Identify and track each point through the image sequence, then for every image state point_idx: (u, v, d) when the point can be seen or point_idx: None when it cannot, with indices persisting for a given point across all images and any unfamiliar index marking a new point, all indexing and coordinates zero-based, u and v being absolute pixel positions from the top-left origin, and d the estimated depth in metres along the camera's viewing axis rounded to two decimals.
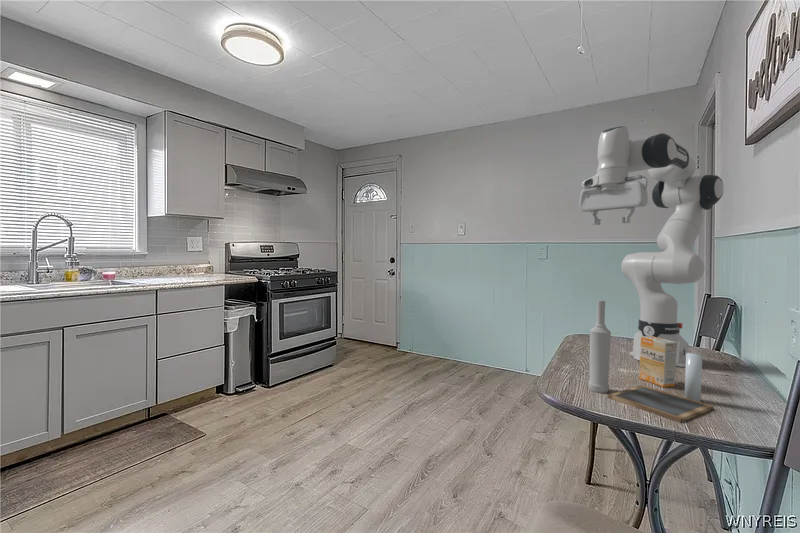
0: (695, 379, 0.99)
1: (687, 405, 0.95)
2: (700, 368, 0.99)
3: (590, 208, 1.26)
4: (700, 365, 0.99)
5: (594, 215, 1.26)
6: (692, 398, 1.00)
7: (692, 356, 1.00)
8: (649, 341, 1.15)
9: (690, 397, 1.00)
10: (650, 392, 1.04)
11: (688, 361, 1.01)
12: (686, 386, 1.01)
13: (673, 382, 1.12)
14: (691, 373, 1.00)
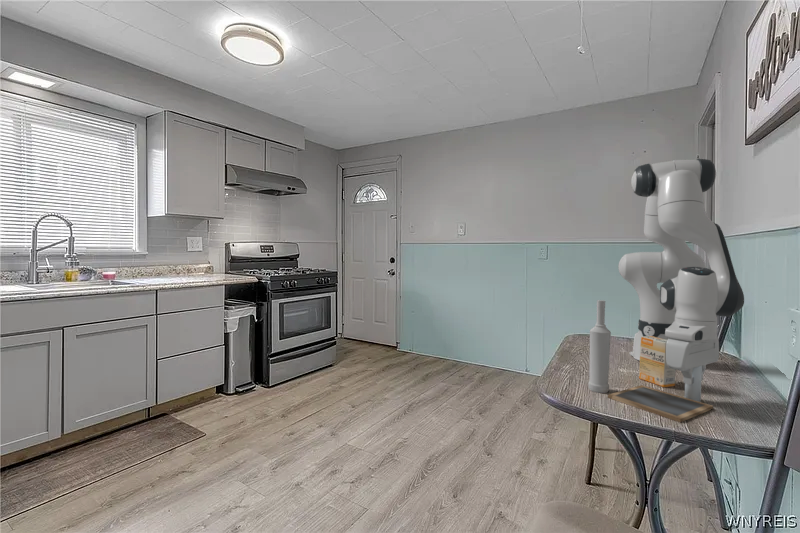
0: (695, 379, 0.99)
1: (687, 405, 0.95)
2: (700, 368, 0.99)
3: (690, 367, 0.96)
4: None
5: None
6: (692, 398, 1.00)
7: None
8: (649, 341, 1.15)
9: (690, 397, 1.00)
10: (650, 392, 1.04)
11: None
12: (686, 386, 1.01)
13: (673, 382, 1.12)
14: None
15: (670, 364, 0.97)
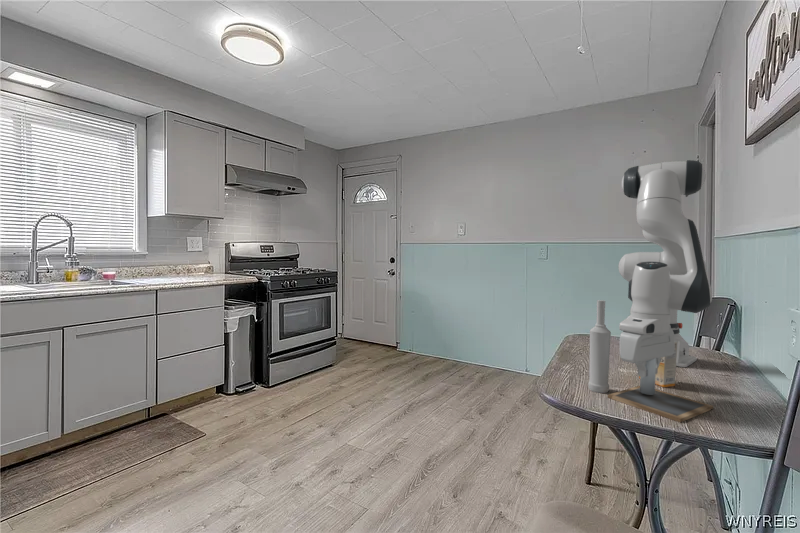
0: (649, 372, 1.01)
1: (687, 405, 0.95)
2: (654, 361, 1.01)
3: (643, 359, 0.98)
4: None
5: None
6: (646, 391, 1.01)
7: None
8: None
9: (644, 390, 1.02)
10: None
11: None
12: (641, 379, 1.03)
13: (673, 382, 1.12)
14: (645, 366, 1.01)
15: (623, 357, 0.98)
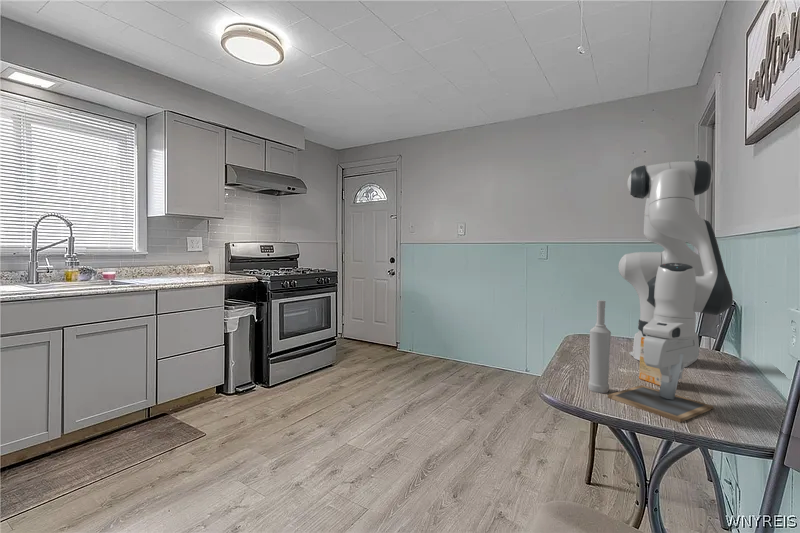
0: (672, 377, 0.98)
1: (687, 405, 0.95)
2: (679, 366, 0.98)
3: (668, 364, 0.95)
4: (680, 363, 0.98)
5: None
6: (666, 395, 0.99)
7: None
8: None
9: (664, 394, 0.99)
10: (650, 392, 1.04)
11: None
12: (662, 382, 1.00)
13: None
14: None
15: (647, 362, 0.95)
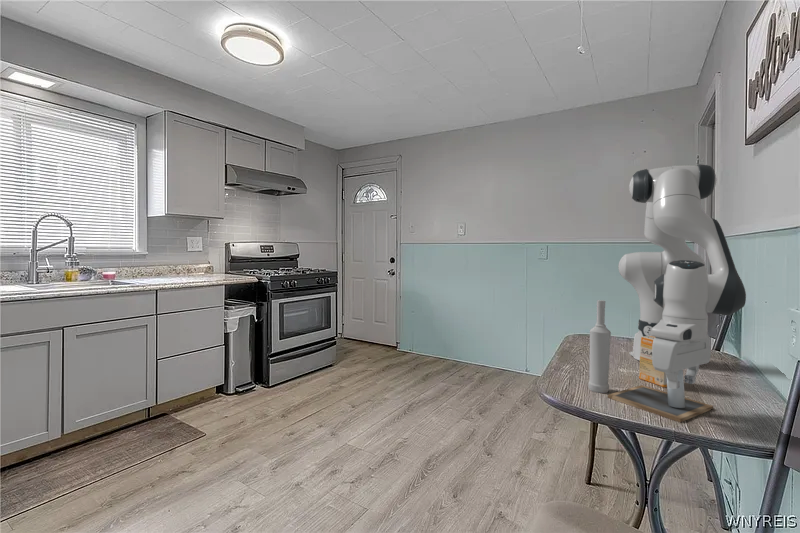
0: None
1: (687, 405, 0.95)
2: (681, 370, 0.94)
3: (678, 369, 0.89)
4: None
5: None
6: (676, 403, 0.93)
7: None
8: (649, 341, 1.15)
9: (674, 402, 0.93)
10: (650, 392, 1.04)
11: None
12: (669, 391, 0.94)
13: None
14: None
15: (656, 366, 0.89)
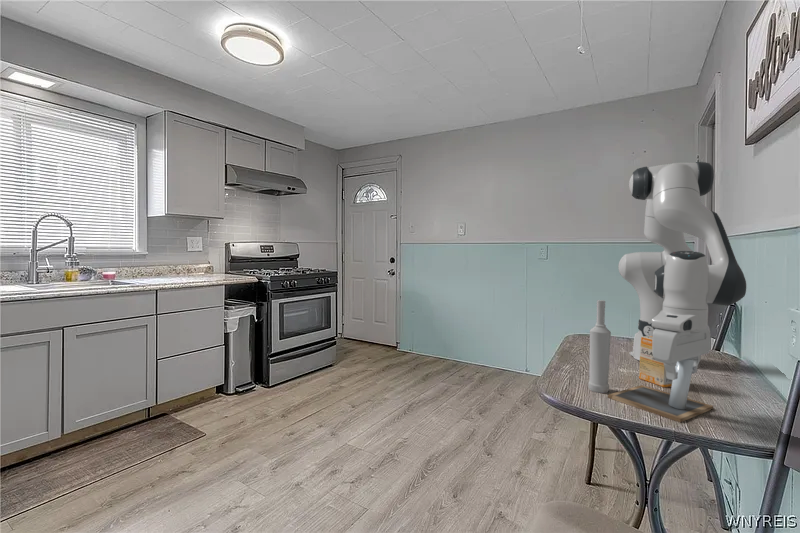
0: (683, 385, 0.92)
1: (687, 405, 0.95)
2: (690, 374, 0.92)
3: (678, 359, 0.89)
4: (690, 370, 0.92)
5: None
6: (677, 405, 0.93)
7: (683, 360, 0.92)
8: (649, 341, 1.15)
9: (675, 403, 0.93)
10: (650, 392, 1.04)
11: (678, 365, 0.93)
12: (672, 391, 0.94)
13: None
14: (679, 378, 0.92)
15: (657, 356, 0.89)
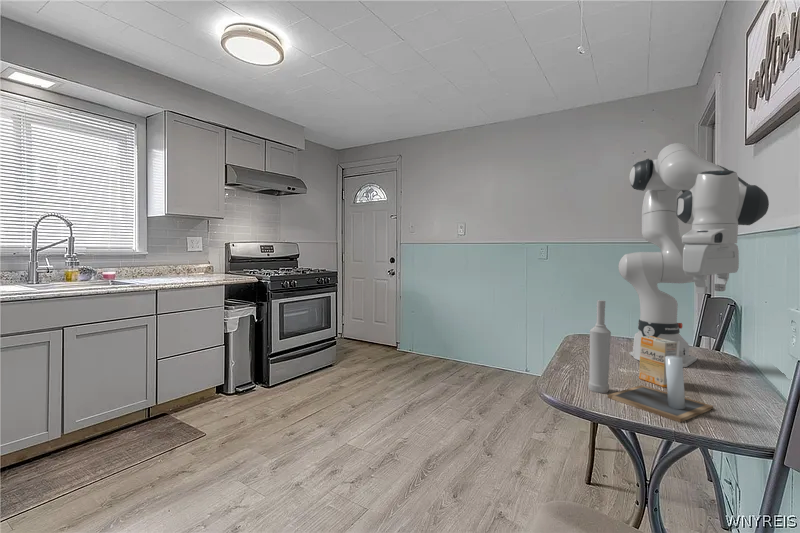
0: (678, 385, 0.92)
1: (687, 405, 0.95)
2: (681, 372, 0.92)
3: (709, 272, 0.91)
4: (681, 368, 0.92)
5: None
6: (676, 405, 0.93)
7: (672, 360, 0.93)
8: (649, 341, 1.15)
9: (674, 404, 0.93)
10: (650, 392, 1.04)
11: (668, 365, 0.94)
12: (669, 392, 0.94)
13: None
14: (672, 378, 0.93)
15: (687, 270, 0.91)
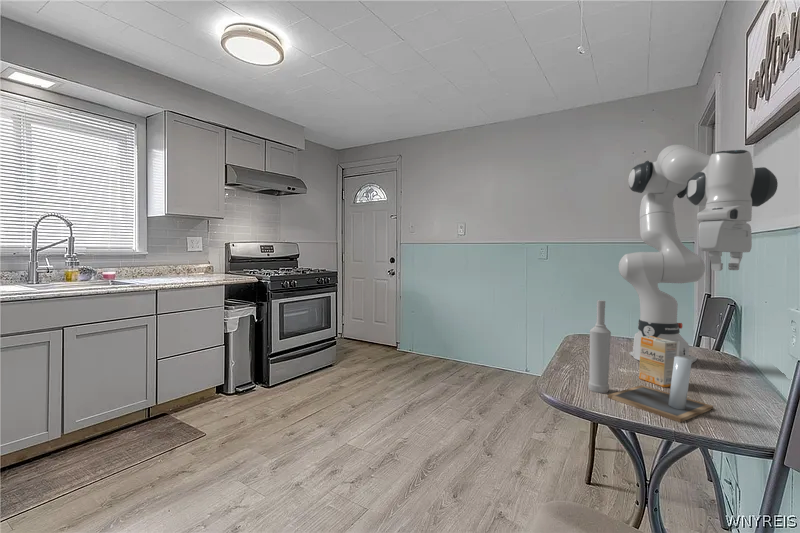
0: (682, 385, 0.92)
1: (687, 405, 0.95)
2: (688, 373, 0.92)
3: (724, 248, 0.92)
4: (689, 370, 0.92)
5: None
6: (677, 405, 0.93)
7: (681, 360, 0.92)
8: (649, 341, 1.15)
9: (675, 404, 0.93)
10: (650, 392, 1.04)
11: (677, 365, 0.93)
12: (672, 392, 0.94)
13: None
14: (679, 378, 0.92)
15: (703, 246, 0.92)
